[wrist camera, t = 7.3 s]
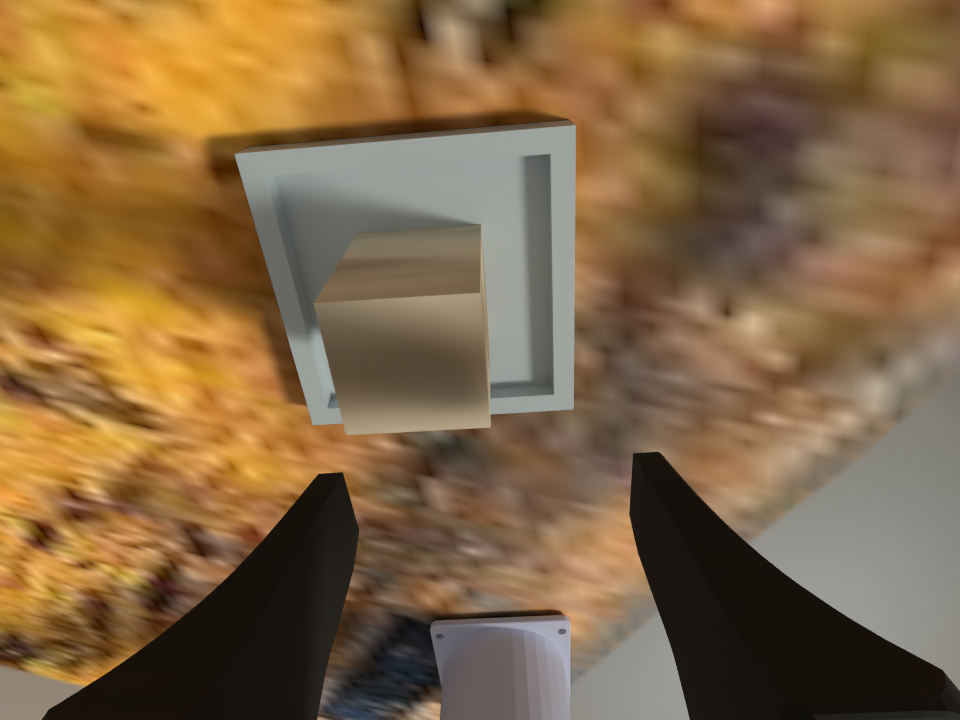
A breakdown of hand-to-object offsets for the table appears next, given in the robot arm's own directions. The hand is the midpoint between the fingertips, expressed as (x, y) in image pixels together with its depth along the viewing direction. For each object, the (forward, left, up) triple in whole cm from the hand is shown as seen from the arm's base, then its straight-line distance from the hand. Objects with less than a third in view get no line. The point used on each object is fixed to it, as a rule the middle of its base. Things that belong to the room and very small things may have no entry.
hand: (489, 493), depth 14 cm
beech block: (+2, +2, -9) cm, 10 cm away
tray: (+2, +2, -10) cm, 10 cm away
